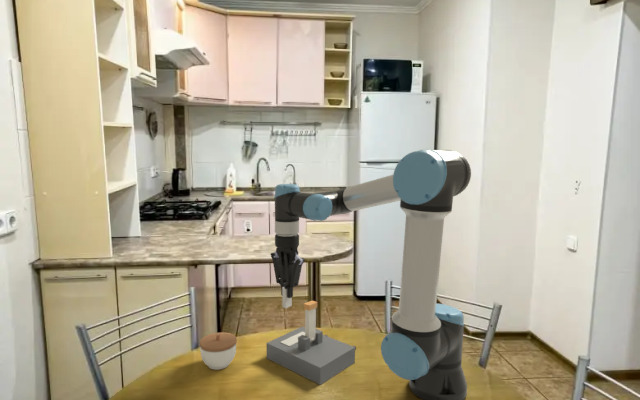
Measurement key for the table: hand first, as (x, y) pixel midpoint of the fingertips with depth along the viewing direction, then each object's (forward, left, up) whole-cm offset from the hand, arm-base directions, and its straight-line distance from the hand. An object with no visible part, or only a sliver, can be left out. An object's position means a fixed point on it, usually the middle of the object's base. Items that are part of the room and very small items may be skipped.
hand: (287, 306), depth 134 cm
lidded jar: (+9, +20, -15) cm, 26 cm away
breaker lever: (-10, 0, -8) cm, 13 cm away
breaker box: (-10, 0, -15) cm, 18 cm away
